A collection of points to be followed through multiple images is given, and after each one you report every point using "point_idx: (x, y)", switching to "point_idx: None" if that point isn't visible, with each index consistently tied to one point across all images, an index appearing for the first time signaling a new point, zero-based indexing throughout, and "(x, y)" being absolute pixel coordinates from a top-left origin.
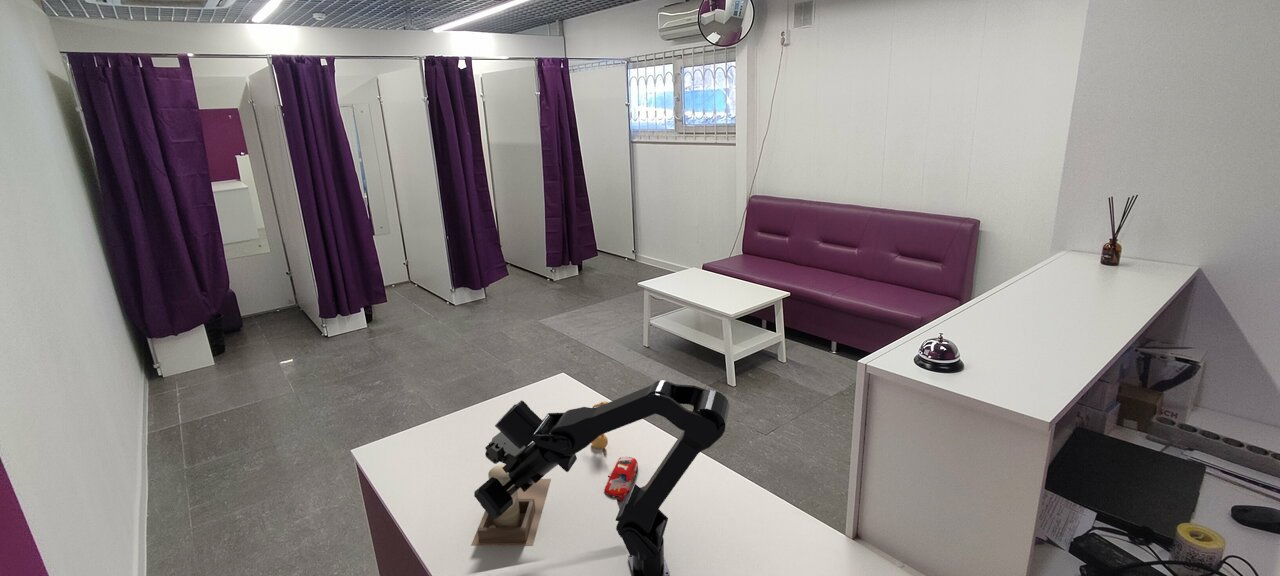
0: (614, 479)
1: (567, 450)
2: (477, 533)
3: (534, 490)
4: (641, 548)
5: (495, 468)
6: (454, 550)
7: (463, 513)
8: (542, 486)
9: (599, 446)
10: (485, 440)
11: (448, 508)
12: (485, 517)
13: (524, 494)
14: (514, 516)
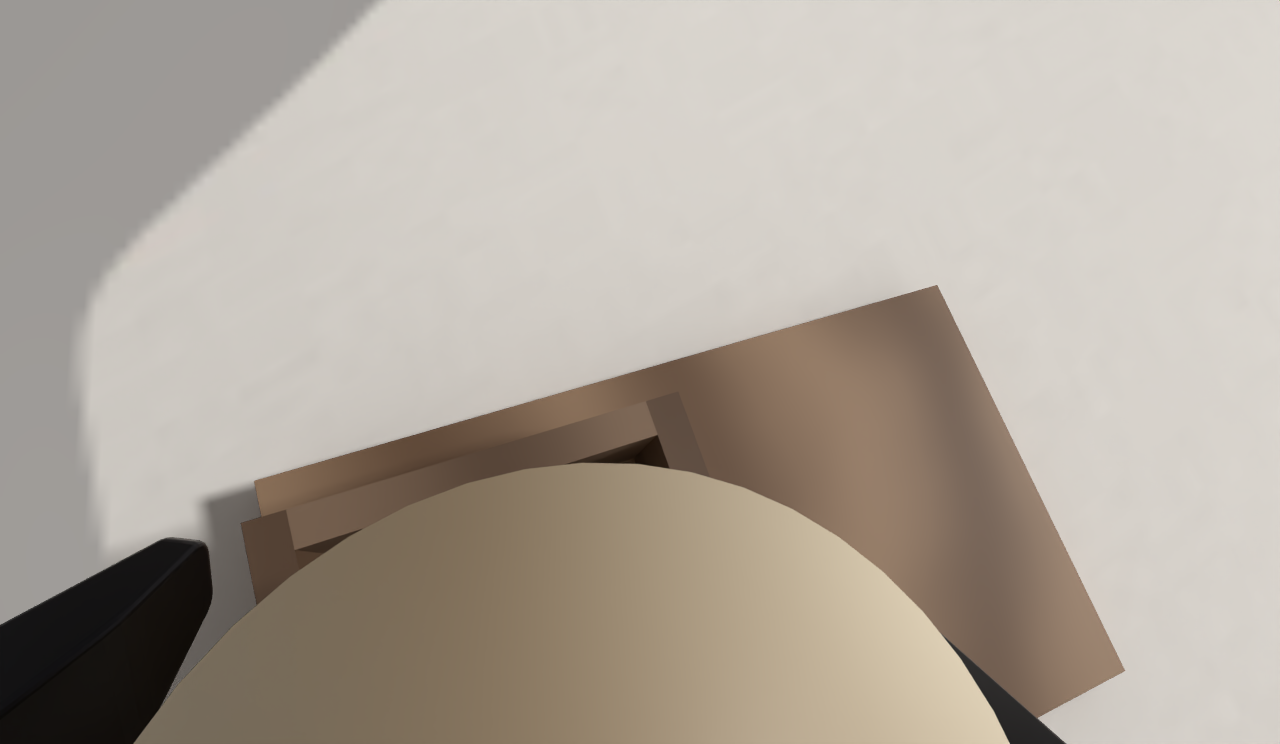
0: None
1: None
2: (391, 455)
3: (962, 616)
4: None
5: (715, 592)
6: (244, 366)
7: (593, 234)
8: (1026, 654)
9: None
10: (1155, 46)
11: (602, 127)
12: (440, 489)
13: (893, 564)
14: None
